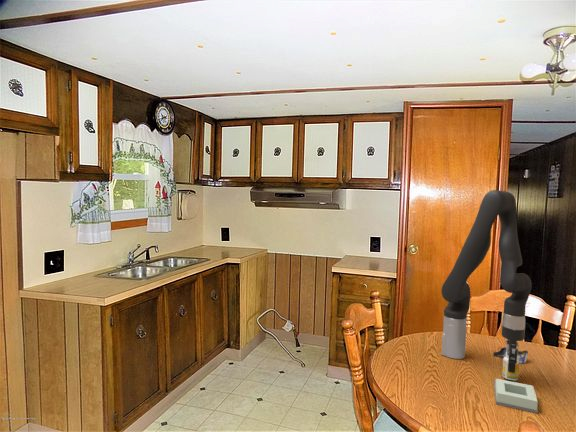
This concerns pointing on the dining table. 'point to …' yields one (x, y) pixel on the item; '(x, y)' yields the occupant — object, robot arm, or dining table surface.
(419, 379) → the dining table surface
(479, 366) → the dining table surface
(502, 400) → the socket board
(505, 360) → the supplement bottle
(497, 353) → the snack package
